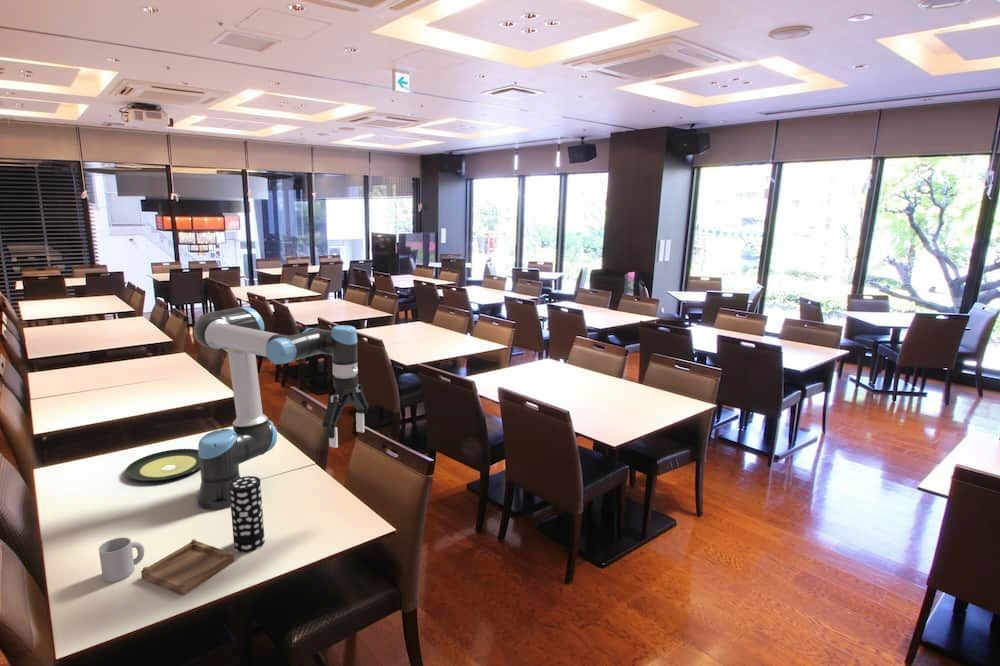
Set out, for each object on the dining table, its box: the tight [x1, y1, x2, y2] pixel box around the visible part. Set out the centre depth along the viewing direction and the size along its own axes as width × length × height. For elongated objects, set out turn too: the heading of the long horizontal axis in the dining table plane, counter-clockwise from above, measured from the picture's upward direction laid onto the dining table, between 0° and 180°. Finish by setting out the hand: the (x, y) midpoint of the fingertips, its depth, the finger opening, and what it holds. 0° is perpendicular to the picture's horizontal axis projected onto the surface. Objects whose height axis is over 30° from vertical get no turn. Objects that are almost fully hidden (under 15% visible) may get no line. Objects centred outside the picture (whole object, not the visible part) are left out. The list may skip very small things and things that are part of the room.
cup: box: [98, 536, 145, 583], centre depth 151 cm, size 7×10×9 cm
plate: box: [124, 448, 200, 482], centre depth 213 cm, size 28×28×2 cm
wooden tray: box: [140, 538, 236, 596], centre depth 153 cm, size 16×16×3 cm
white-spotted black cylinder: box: [229, 475, 266, 553], centre depth 163 cm, size 8×8×20 cm
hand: (347, 439), depth 177 cm, fingers open, 13 cm apart
